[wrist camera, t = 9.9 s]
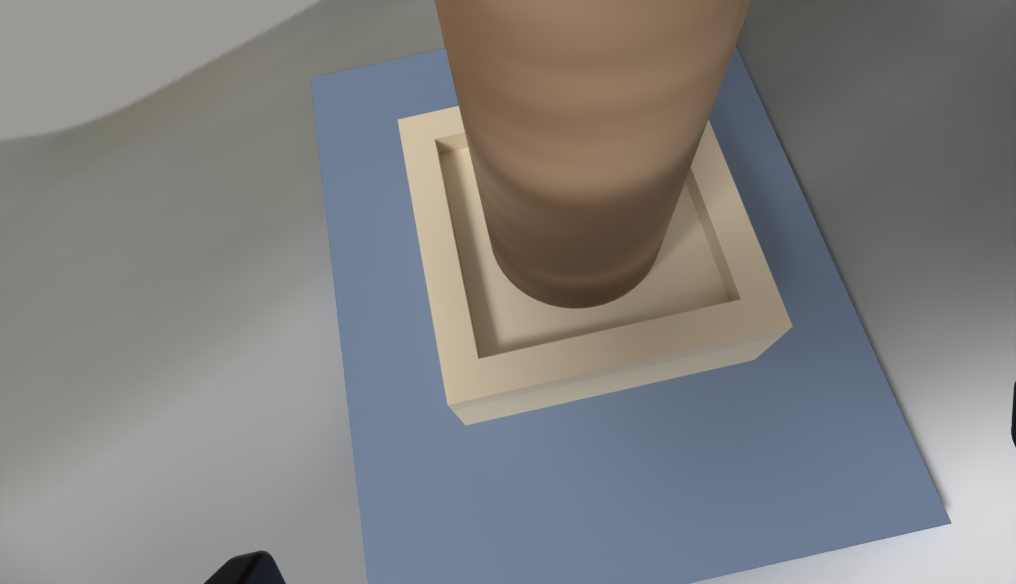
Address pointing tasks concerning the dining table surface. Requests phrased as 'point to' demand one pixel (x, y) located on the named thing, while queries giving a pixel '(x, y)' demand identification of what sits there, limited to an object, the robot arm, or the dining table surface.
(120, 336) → the dining table surface
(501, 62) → the walnut column
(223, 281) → the dining table surface
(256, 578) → the robot arm
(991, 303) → the dining table surface
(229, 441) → the dining table surface
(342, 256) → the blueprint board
